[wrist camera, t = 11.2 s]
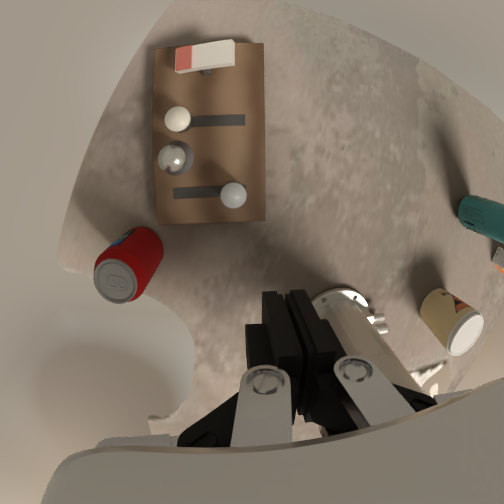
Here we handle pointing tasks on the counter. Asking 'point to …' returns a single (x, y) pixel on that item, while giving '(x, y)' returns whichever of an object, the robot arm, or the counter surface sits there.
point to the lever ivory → (178, 119)
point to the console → (211, 137)
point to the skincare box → (499, 259)
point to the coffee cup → (451, 321)
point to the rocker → (205, 56)
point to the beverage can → (128, 265)
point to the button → (172, 158)
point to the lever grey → (233, 194)
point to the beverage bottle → (482, 216)
